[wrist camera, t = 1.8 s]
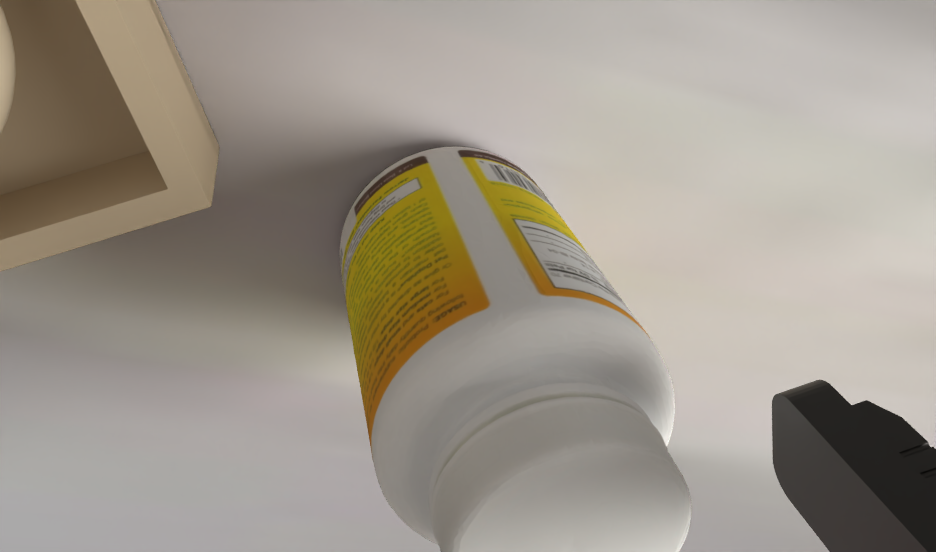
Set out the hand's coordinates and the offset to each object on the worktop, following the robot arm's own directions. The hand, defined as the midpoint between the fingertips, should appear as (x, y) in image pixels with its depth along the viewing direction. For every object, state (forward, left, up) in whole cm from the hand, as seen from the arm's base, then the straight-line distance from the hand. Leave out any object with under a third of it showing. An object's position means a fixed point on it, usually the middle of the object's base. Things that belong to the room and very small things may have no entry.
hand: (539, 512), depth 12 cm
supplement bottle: (0, 0, -10) cm, 10 cm away
